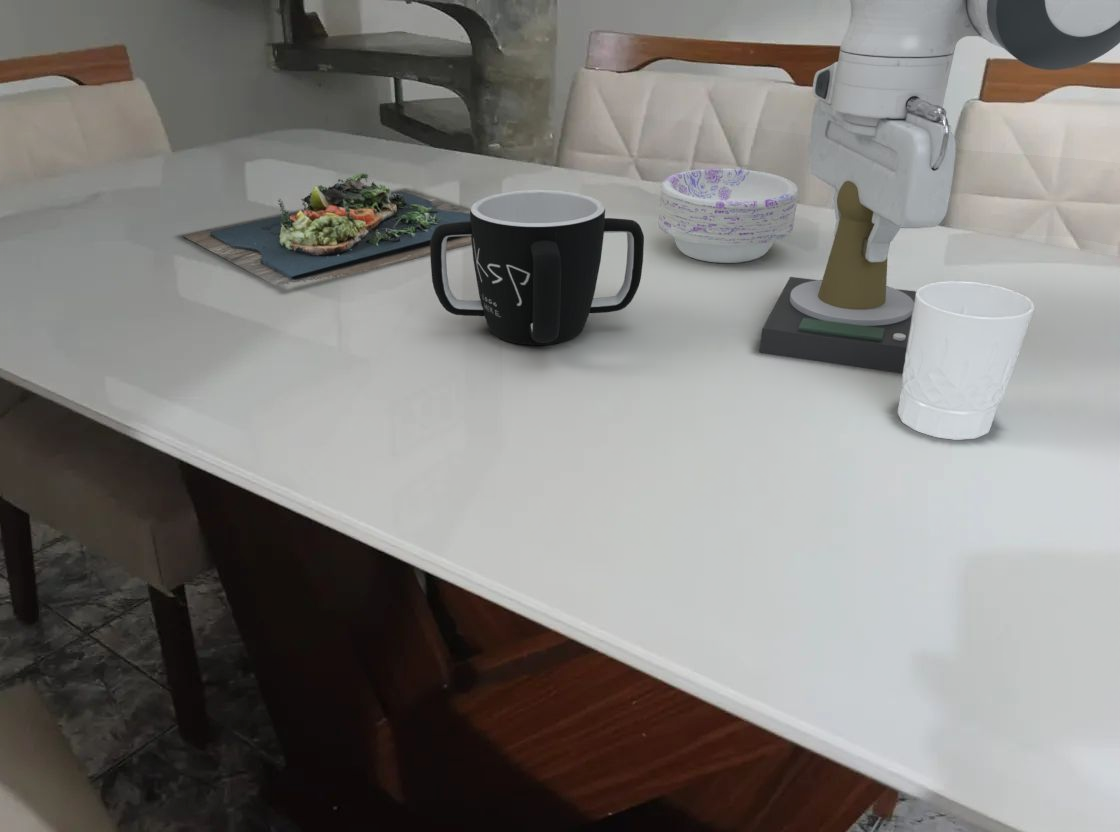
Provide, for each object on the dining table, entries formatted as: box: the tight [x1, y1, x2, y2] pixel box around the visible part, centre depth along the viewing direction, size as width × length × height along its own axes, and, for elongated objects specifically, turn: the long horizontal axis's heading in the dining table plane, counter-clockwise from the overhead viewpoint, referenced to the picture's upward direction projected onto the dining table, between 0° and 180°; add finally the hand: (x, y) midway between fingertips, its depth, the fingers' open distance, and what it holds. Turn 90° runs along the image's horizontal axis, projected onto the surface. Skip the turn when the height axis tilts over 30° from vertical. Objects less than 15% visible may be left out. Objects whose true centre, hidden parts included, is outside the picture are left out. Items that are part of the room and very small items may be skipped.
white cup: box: [897, 280, 1035, 441], centre depth 73 cm, size 8×8×10 cm
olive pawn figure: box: [818, 181, 888, 309], centre depth 88 cm, size 6×6×11 cm
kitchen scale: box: [758, 276, 917, 375], centre depth 90 cm, size 15×13×3 cm
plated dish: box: [181, 172, 472, 287], centre depth 121 cm, size 35×28×7 cm
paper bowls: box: [658, 167, 800, 264], centre depth 111 cm, size 15×15×8 cm
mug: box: [429, 189, 645, 346], centre depth 90 cm, size 16×16×12 cm
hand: (858, 249), depth 88 cm, fingers closed on olive pawn figure, 4 cm apart
